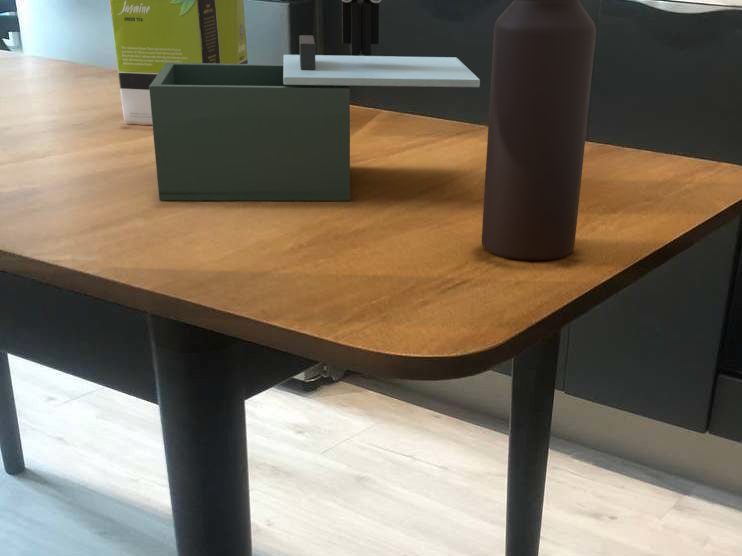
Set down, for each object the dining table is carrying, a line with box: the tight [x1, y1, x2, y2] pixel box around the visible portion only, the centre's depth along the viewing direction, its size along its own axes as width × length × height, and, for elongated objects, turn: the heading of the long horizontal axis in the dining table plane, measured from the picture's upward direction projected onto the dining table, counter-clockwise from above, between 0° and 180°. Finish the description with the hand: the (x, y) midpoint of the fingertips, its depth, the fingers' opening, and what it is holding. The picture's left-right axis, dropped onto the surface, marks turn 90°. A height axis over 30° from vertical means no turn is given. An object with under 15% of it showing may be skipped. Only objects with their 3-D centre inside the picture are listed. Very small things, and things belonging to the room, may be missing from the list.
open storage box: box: [149, 63, 351, 202], centre depth 93 cm, size 16×14×9 cm
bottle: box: [481, 0, 597, 262], centre depth 74 cm, size 7×7×20 cm
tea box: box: [108, 0, 249, 126], centre depth 119 cm, size 15×10×15 cm
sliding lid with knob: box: [282, 34, 481, 88], centre depth 91 cm, size 16×14×3 cm
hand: (360, 53), depth 91 cm, fingers closed
